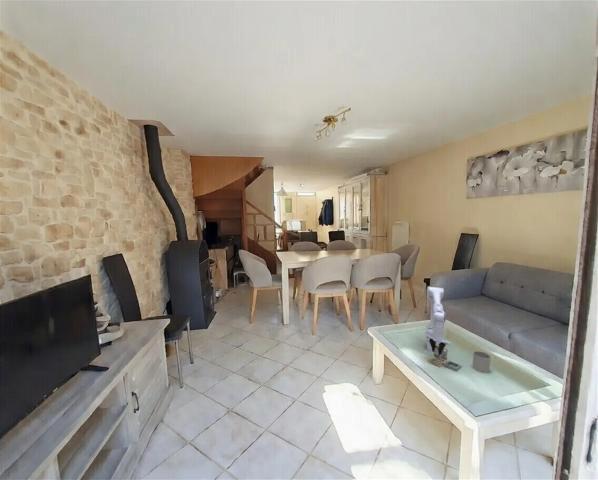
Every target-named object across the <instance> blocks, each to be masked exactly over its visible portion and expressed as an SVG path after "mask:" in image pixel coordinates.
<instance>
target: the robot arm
mask: <svg viewBox="0 0 598 480" xmlns="http://www.w3.org/2000/svg"><path fill="white" fill-rule="evenodd" d="M426 288H427V289H426V293H427V294H426V297H427V299H429V301H430V323H428V324H426V326H425V332H424V333H425V335H424V336H425V339H426V350H427V351H429V352H431V353H434V346H439V355H440V356H441V354H442V351H443V349H444V348H445V347H446V346H448V347H451V345H452V342H451V341H448V340H447V339H444V331H445V330H444V329H445V322H446V312H445V311H444V306H443V304H442V303H441V300H442V299H443V297H444V294H445V290H444V287H435V286H427V287H426Z"/></svg>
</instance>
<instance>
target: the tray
mask: <svg viewBox="0 0 598 480" xmlns="http://www.w3.org/2000/svg"><path fill="white" fill-rule="evenodd" d="M433 361H435V362H438V363H439V364H437V363H435V362H433ZM446 362H448V361H447V360H444V359H442V358H441V357H439V358H437V357H434V356H433V357H432V358H431V359H429V360H427V363H429V364H430V365H433V366H435V367H438V368H441V367H442V366H444V364H445V363H446Z"/></svg>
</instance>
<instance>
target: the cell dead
mask: <svg viewBox="0 0 598 480" xmlns="http://www.w3.org/2000/svg"><path fill="white" fill-rule="evenodd" d="M440 359H443V360H445V361H447V360H448V349H447V348H445V347H444V349H443V351H442V354H441V355H440Z"/></svg>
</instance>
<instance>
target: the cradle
mask: <svg viewBox="0 0 598 480" xmlns="http://www.w3.org/2000/svg"><path fill="white" fill-rule="evenodd" d="M443 367H444V368H446V369H449V370H451V371H454V372H458V371H459V370H460V369H462V368H463V367H464V366H463V365H461V364H459V363H457V362H454V361H452V360H448V361H447V362H446V363H445V364H444V365H443Z"/></svg>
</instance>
